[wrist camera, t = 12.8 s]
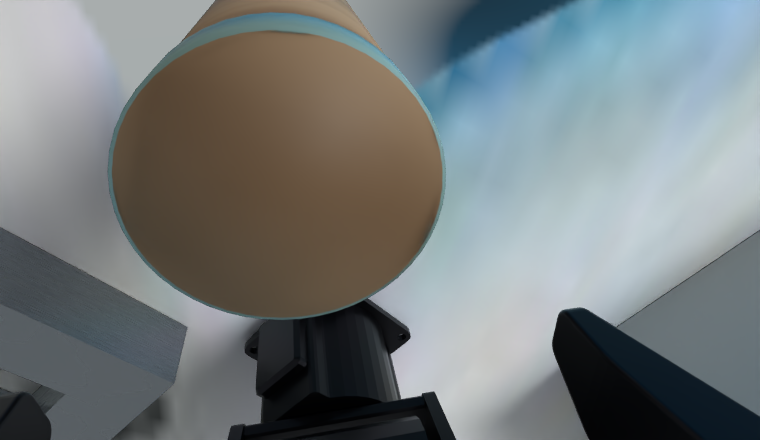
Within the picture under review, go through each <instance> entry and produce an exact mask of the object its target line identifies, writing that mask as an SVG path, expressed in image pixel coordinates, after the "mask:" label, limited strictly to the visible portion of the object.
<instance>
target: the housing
mask: <svg viewBox="0 0 760 440" xmlns="http://www.w3.org/2000/svg"><path fill="white" fill-rule="evenodd" d="M186 331H187V327H186V326H184V325H182V324H180V323H179V322H177V321H175V320H173V319H171V318H169V317H167V316H165V315H164V314H162V313H160V312H158V311H156V310H154V309H152V308H150V307H149V306H147V305H145V304H143V303H141V302H139V301H137V300H135V299H134V298H132V297H130V296H128V295H126V294H124V293H122V292H120V291H119V290H117V289H115V288H113V287H111V286H109V285H107V284H105V283H104V282H102V281H100V280H98V279H96V278H94V277H92V276H90V275H89V274H87V273H85V272H83V271H81V270H79V269H77V268H75V267H74V266H72V265H70V264H68V263H66V262H64V261H62V260H60V259H59V258H57V257H55V256H53V255H51V254H49V253H47V252H45V251H44V250H42V249H40V248H38V247H36V246H34V245H32V244H30V243H29V242H27V241H25V240H23V239H21V238H19V237H17V236H15V235H14V234H12V233H10V232H8V231H6V230H4V229H2V228H0V369H3V370H5V371H8V372H11V373H13V374H16V375H18V376H21V377H23V378H26V379H28V380H31V381H33V382H36V383H38V384H41V385H42V386H41V387H40V388H39V389H38V390H37V391H36V392H35V393H34V394H33V395H32V396H33V397H34V398H35V400H36V401H37V403H38V404H39V406H40V407H41V409H42V410H43V411H44V413H45V414H46V416H47V417H48V419H49V421H50V424H51V429H52V431H51V439H50V440H111V439H112V438H113V437H114V436H115V435H116V434H118V433H119V432H120V431H121V430H122V429H123V428H124V427H126V426H127V425H128V424H129V423H130V422H131V421H132V420H133V419H135V418H136V417H137V416H138V415H139V414H140V413H141V412H143V411H144V410H145V409H146V408H147V407H148V406H149V405H150V404H152V403H153V402H154V401H155V400H156V399H157V398H158V397H160V396H161V395H162V394H163V393H164V392H165V391H166V390H167V389H169V388H170V387H171V386H172V385H173V384H174V382H175V377H176V373H177V369H178V365H179V361H180V356H181V352H182V348H183V344H184V340H185V336H186ZM10 393H11V392H8V391H6V390H3V389H1V388H0V395H3V394H10Z"/></svg>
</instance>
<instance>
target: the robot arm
mask: <svg viewBox="0 0 760 440" xmlns="http://www.w3.org/2000/svg"><path fill="white" fill-rule="evenodd" d="M400 334H402V335H400ZM410 337H411V336H410V332H409V329H408V327H407V326H405V325H404V324H402V323H401V322H400V321H398V320H397V319H396V318H394V317H393V316H391V315H390V314H389V313H387V312H386V311H384V310H383V309H382V308H380V307H379V306H378V305H376V304H375V303H373V302H372V301H371V300H369V299H368V298H367V299H365V300H363V301H361V302H359V303H357V304H355V305H352V306H350V307H347V308H344V309H342V310H339V311H336V312H332V313H328V314H324V315H320V316H315V317H309V318H302V319H288V320H272V319H268V320H267V321H266V322H265V323H264V324H263V325H262V326H261V327H260V329H259V331H258V332H256V333H255V334H254V335H253V336H252V337H251V338H250V339H248V340H247V342H246V343H245V353H246V354H247V355H248V356H250V357H251V358H253V359H255V360H257V376H256V394H257V395H258V396H260V397H262V408H261V423H259V424H253V425H247V426H245V424H240V425H234V426H231V428H230V432H229V436H228V440H456V438H455V436H454V434H453V432H452V430H451V427H450V425H449V423H448V421H447V419H446V416H445V414H444V412H443V410H442V407H441V405H440V403H439V401H438V399H437V396H436V394H435V392H428V393H422V396H417V397H412V398H406V399H401V396H400V392H399V388H398V384H397V379H396V375H395V371H394V367H393V363H392V358H391V353H393V352H394V351H395V350H397V349H398V348H399V347H401V346H402V345H403V344H405V343H406V342H407V341H408V340H409V339H410ZM252 347H257V348H252ZM552 347H553V352H554V355H555V358H556V360H557V363H558V365H559V368H560V370H561V373H562V375H563V378H564V381H565V383H566V386H567V388H568V391H569V393H570V396H571V398H572V401H573V403H574V406H575V408H576V411H577V413H578V416H579V418H580V421H581V423H582V425H583V428H584V430H585V432H586V434H587V436H588V438H589V440H760V416H759V415H757V414H756V413H754V412H752V411H751V410H749V409H748V408H746V407H744V406H743V405H741V404H739V403H738V402H736V401H735V400H733V399H731V398H730V397H728V396H727V395H725V394H723V393H722V392H720V391H718V390H717V389H715V388H714V387H712V386H710V385H709V384H707V383H705V382H704V381H702V380H701V379H699V378H697V377H696V376H694V375H692V374H691V373H689V372H688V371H686V370H684V369H683V368H681V367H679V366H678V365H676V364H675V363H673V362H671V361H670V360H668V359H666V358H665V357H663V356H662V355H660V354H658V353H657V352H655V351H653V350H652V349H650V348H649V347H647V346H645V345H644V344H642V343H641V342H639V341H637V340H636V339H634V338H632V337H631V336H629V335H628V334H626V333H624V332H623V331H621V330H619V329H618V328H616V327H615V326H613V325H611V324H610V323H608V322H606V321H605V320H603V319H602V318H600V317H598V316H597V315H595V314H593V313H592V312H590V311H589V310H587V309H585V308H572V309H566V310H562V311H561V312H560V313H559V315H558V318H557V322H556V327H555V331H554V336H553V340H552ZM51 431H52V429H51V424H50V421H49V419H48V417H47V416H46V414H45V413H44V411H43V410H42V409H41V407H40V406H39V404H38V403H37V401H36V400H35V398H34V397H33V396H32V394H30V393H28V392H16V393H10V394H3V395H0V440H50V439H51Z"/></svg>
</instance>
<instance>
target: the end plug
mask: <svg viewBox="0 0 760 440" xmlns="http://www.w3.org/2000/svg"><path fill="white" fill-rule="evenodd" d="M108 180H109V191H110V196H111V199H112V203H113V207H114V211H115V214H116V216H117V219H118V221H119V223H120V226H121V228H122V230H123V232H124V234H125V235H126V237H127V239H128V240H129V242H130V244H131V245H132V247H133V248H134V250H135V251H136V252H137V253H138V255H139V256H140V257H141V258H142V260H143V261H144V262H145V263H146V264H147V265H148V266H149V267H150V268H151V269H152V270H153V271H154V272H155V273H156V274H157V275H158V276H159V277H160V278H162V279H163V280H164V281H166V282H167V283H168V284H170V285H171V286H172V287H174V288H175V289H177V290H178V291H180V292H182V293H183V294H185V295H187V296H188V297H190V298H192V299H194V300H196V301H198V302H200V303H203V304H205V305H207V306H209V307H212V308H215V309H218V310H221V311H224V312H227V313H231V314H236V315H240V316H244V317H251V318H259V319H272V320H288V319H302V318H309V317H315V316H320V315H324V314H328V313H332V312H336V311H339V310H342V309H344V308H347V307H350V306H352V305H355V304H357V303H359V302H361V301H363V300H365V299H367V298H369V297H371V296H372V295H374V294H376V293H377V292H379V291H380V290H382V289H384V288H385V287H386V286H388V285H389V284H390V283H391V282H393V281H394V280H395V279H396V278H398V277H399V276H400V275H401V274H402V273H403V272H404V271H405V270H406V269H407V268H408V267H409V266H410V265H411V264H412V262H413V261H414V260H415V259H416V257H417V256H418V255H419V254H420V253H421V251H422V250H423V248H424V246H425V245H426V243H427V241H428V240H429V238H430V237H431V234H432V232H433V230H434V228H435V226H436V223H437V221H438V218H439V215H440V211H441V208H442V205H443V199H444V192H445V181H446V167H445V159H444V151H443V147H442V143H441V140H440V136H439V133H438V130H437V128H436V125H435V123H434V121H433V119H432V116H431V114H430V112H429V111H428V109H427V107H426V106H425V104H424V103H423V101H422V100H421V98H420V96H419V95H418V94H417V92H416V91H415V90H414V88H413V87H412V85H411V84H410V83H409V82H408V80H407V79H406V77H405V76H404V75H403V74H402V73H401V71H400V70H399V69H398V68H397V67H396V65H395V64H394V63H393V62H392V61H391V60H390V59H389V58H388V57H387V56H386V55H385V54H384V53H383V51H382V50H381V49H380V47H379V46H378V44H377V43H376V41H375V40H374V39H373V37H372V36H371V35H370V33H369V32H368V30H367V29H366V28H365V26H364V25H363V24H362V22H361V21H360V19H359V18H358V17H357V15H356V14H355V12H354V11H353V10H352V8H351V7H350V5H349V4H348V3H347V1H346V0H215V2H214V3H213V4H212V5H211V6H210V8H209V9H208V10H207V11H206V12H205V14H204V15H203V16H202V17H201V19H200V20H199V21H198V22H197V24H196V25H195V26H194V27H193V28H192V29H191V31H190V32H189V33H188V34H187V35H186V37H185V38H184V39H183V40H182V42H181V43H180V44H179V45H177V46H176V47H175V48H174V49H172V50H171V51H170V52H169V53H168V54H167V55H166V56H165V57H164V58H163V59H162V60H161V61H160V63H158V65H157V66H156V67H155V68H154V69H153V70H152V71H151V72H150V74H149V75H148V76H147V77H146V78H145V79H144V81H143V82H142V83H141V84H140V85H139V86H138V88H137V89H136V90H135V92H134V93H133V95H132V96H131V98H130V99H129V101H128V102H127V104H126V105H125V107H124V109H123V111H122V113H121V115H120V118H119V120H118V122H117V125H116V127H115V129H114V133H113V137H112V141H111V145H110V149H109V161H108Z"/></svg>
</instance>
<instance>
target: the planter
mask: <svg viewBox="0 0 760 440" xmlns="http://www.w3.org/2000/svg"><path fill="white" fill-rule="evenodd" d="M616 328H618V329H619V330H621V331H623V332H624V333H626V334H628V335H629V336H631V337H632V338H634V339H636V340H637V341H639V342H641V343H642V344H644V345H645V346H647V347H649V348H650V349H652V350H653V351H655V352H657V353H658V354H660V355H662V356H663V357H665V358H666V359H668V360H670V361H671V362H673V363H675V364H676V365H678V366H679V367H681V368H683V369H684V370H686V371H688V372H689V373H691V374H692V375H694V376H696V377H697V378H699V379H701V380H702V381H704V382H705V383H707V384H709V385H710V386H712V387H714V388H715V389H717V390H718V391H720V392H722V393H723V394H725V395H727V396H728V397H730V398H731V399H733V400H735V401H736V402H738V403H739V404H741V405H743V406H744V407H746V408H748V409H749V410H751V411H752V412H754V413H756V414H757V415H759V416H760V231H759V232H757V233H756V234H754V235H753V236H751V237H750V238H748V239H747V240H745V241H744V242H742V243H741V244H739V245H738V246H736V247H735V248H733V249H732V250H730V251H729V252H727V253H726V254H724V255H723V256H721V257H720V258H718V259H717V260H716V261H714V262H713V263H711V264H710V265H708V266H707V267H705V268H704V269H702V270H701V271H699V272H698V273H696V274H695V275H693V276H692V277H690V278H689V279H687V280H686V281H684V282H683V283H681V284H680V285H678V286H677V287H676V288H674V289H673V290H671V291H670V292H668V293H667V294H665V295H664V296H662V297H661V298H659V299H658V300H656V301H655V302H653V303H652V304H650V305H649V306H647V307H646V308H644V309H643V310H641V311H640V312H638V313H637V314H635V315H634V316H633V317H631V318H630V319H628V320H627V321H625V322H624V323H622V324H621V325H619V326H618V327H616Z"/></svg>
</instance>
